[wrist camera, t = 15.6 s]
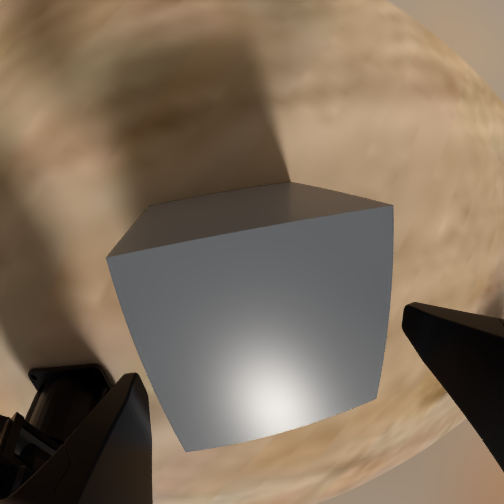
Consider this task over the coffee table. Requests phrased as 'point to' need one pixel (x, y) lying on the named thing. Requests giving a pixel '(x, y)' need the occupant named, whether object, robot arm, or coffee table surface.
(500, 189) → the coffee table surface
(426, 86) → the coffee table surface
